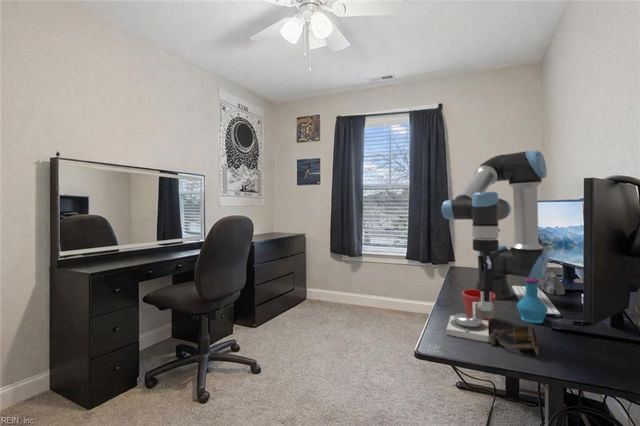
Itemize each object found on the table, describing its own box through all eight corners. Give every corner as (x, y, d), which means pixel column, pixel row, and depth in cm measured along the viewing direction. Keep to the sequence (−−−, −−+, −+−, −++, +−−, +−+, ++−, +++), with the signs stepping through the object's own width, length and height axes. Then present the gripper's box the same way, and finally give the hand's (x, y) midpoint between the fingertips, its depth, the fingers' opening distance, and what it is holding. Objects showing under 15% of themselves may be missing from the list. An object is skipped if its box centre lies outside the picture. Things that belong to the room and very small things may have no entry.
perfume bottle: (543, 317, 113) (543, 277, 112) (550, 326, 104) (550, 282, 104) (514, 313, 116) (514, 275, 116) (519, 322, 108) (518, 280, 108)
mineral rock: (536, 287, 154) (536, 267, 154) (563, 290, 148) (563, 269, 147) (536, 293, 143) (536, 272, 143) (565, 296, 137) (565, 274, 137)
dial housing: (450, 320, 111) (450, 314, 111) (488, 326, 105) (488, 319, 105) (446, 335, 98) (446, 327, 98) (488, 342, 93) (488, 334, 92)
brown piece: (531, 342, 80) (547, 326, 85) (483, 323, 91) (500, 309, 96) (531, 365, 82) (547, 348, 87) (484, 344, 92) (501, 329, 98)
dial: (460, 328, 97) (460, 307, 97) (450, 319, 106) (450, 299, 106) (499, 328, 97) (499, 306, 97) (485, 318, 105) (485, 298, 105)
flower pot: (500, 325, 105) (500, 298, 105) (466, 323, 107) (466, 296, 107) (490, 315, 116) (489, 289, 115) (459, 313, 118) (459, 288, 118)
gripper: (503, 240, 92) (504, 318, 92) (493, 237, 104) (494, 305, 104) (475, 240, 94) (476, 315, 94) (469, 237, 107) (470, 303, 107)
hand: (486, 310), depth 99 cm, fingers closed
